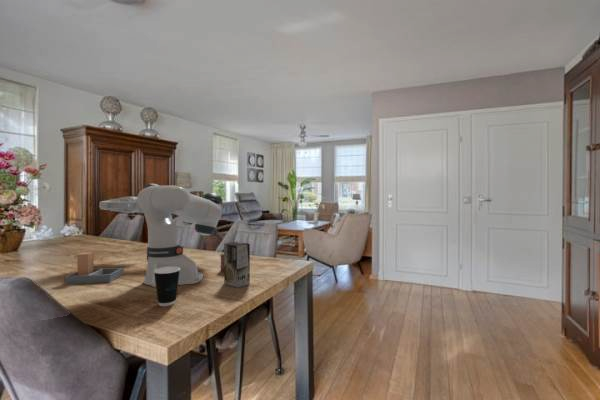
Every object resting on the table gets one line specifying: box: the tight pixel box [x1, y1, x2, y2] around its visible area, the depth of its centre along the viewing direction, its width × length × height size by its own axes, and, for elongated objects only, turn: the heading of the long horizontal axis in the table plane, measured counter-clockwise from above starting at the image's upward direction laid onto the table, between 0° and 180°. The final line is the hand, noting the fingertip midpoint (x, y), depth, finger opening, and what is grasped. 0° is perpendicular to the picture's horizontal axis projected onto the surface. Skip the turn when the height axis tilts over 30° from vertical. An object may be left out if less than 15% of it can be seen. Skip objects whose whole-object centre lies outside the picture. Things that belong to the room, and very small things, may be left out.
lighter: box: [220, 248, 224, 272], centre depth 134 cm, size 8×3×10 cm, turn 71°
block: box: [76, 251, 95, 276], centre depth 120 cm, size 4×4×10 cm
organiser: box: [64, 267, 124, 285], centre depth 120 cm, size 16×12×3 cm
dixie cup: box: [153, 267, 180, 307], centre depth 93 cm, size 8×8×11 cm
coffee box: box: [223, 241, 251, 289], centre depth 114 cm, size 9×6×16 cm
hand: (116, 205), depth 139 cm, fingers open, 8 cm apart
